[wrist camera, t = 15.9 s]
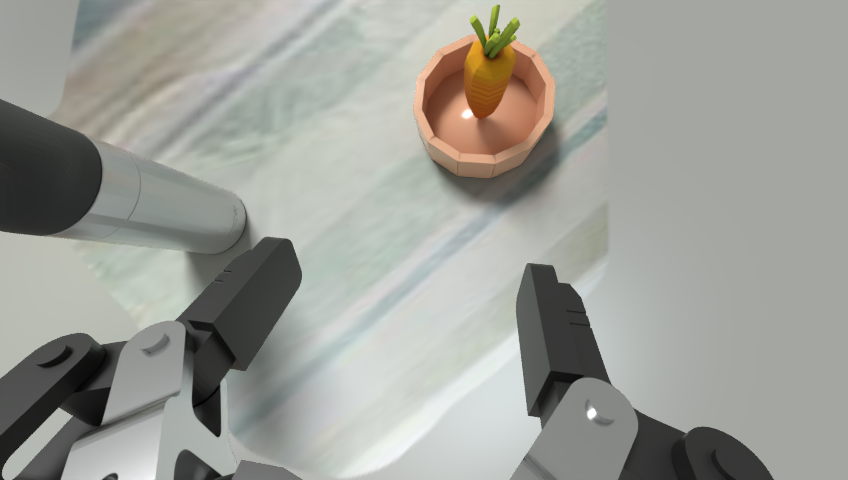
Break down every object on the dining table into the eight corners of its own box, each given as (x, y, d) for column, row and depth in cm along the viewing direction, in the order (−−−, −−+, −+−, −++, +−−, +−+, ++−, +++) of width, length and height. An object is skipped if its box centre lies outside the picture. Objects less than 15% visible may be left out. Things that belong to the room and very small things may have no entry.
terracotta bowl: (413, 173, 40) (407, 157, 35) (426, 62, 42) (422, 33, 37) (537, 181, 38) (549, 167, 33) (545, 65, 40) (558, 35, 35)
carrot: (452, 118, 39) (454, 20, 25) (479, 91, 40) (497, -21, 25) (480, 142, 39) (499, 58, 24) (507, 115, 39) (543, 15, 24)
